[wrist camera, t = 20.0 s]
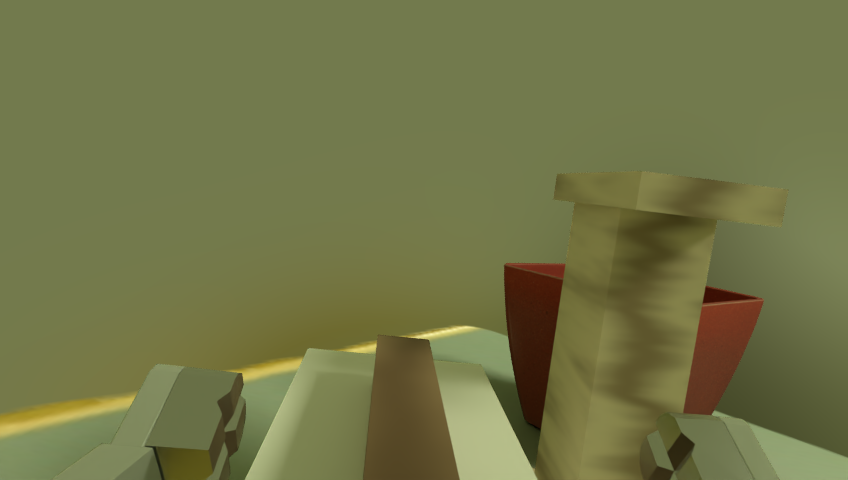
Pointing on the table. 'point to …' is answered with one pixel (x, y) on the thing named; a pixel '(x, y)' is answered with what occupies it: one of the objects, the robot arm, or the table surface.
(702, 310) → the plant pot
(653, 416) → the wooden i-beam pillar
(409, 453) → the walnut bar
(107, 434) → the table surface
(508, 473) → the white rectangular block
